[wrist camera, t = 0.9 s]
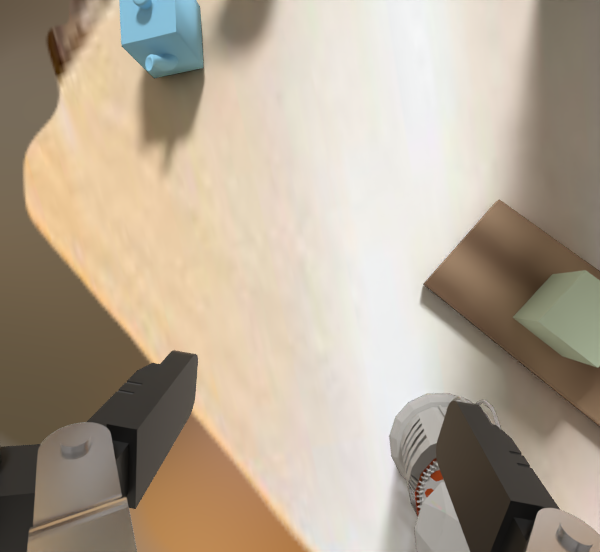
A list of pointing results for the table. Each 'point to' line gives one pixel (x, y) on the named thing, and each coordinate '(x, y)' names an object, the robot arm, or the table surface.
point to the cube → (566, 315)
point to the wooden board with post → (515, 296)
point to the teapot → (162, 35)
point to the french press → (428, 471)
